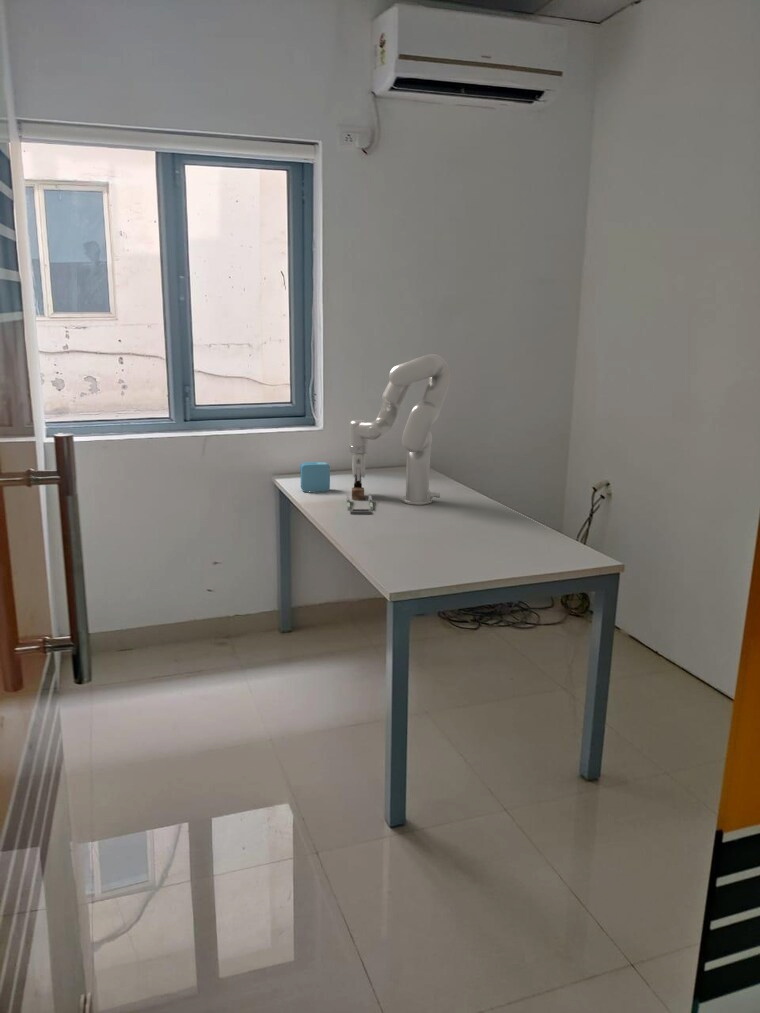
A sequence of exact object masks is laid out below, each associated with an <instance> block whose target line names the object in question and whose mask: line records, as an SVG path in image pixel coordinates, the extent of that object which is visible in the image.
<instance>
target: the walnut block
mask: <svg viewBox="0 0 760 1013" xmlns="http://www.w3.org/2000/svg"><path fill="white" fill-rule="evenodd" d="M352 499H355V500H354V501H357V500H356V499H359V500H358V501H365V487H362V488H354V487H351V500H352Z"/></svg>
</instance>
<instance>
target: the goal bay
mask: <svg viewBox="0 0 760 1013" xmlns="http://www.w3.org/2000/svg"><path fill="white" fill-rule="evenodd" d="M346 509H347V510H346V511H350V509H351V503H347V502H346ZM369 509H371V511H373V510H374V506H373V502H372V503H370V506H369Z"/></svg>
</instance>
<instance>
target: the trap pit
mask: <svg viewBox="0 0 760 1013" xmlns="http://www.w3.org/2000/svg"><path fill="white" fill-rule="evenodd" d="M349 511H350V515H372V510H371V509H370V508H350V510H349Z"/></svg>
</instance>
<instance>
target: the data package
mask: <svg viewBox="0 0 760 1013" xmlns="http://www.w3.org/2000/svg"><path fill="white" fill-rule="evenodd" d="M330 466H331V465H329V463H328V462H327V461H326V462H325V461H321V462H320V461H319V462H302V463H301V464H300V488H301V490H302V491H303V492H304V493H310V492H309V491H325V492H329V491H330V489H331V467H330Z"/></svg>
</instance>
